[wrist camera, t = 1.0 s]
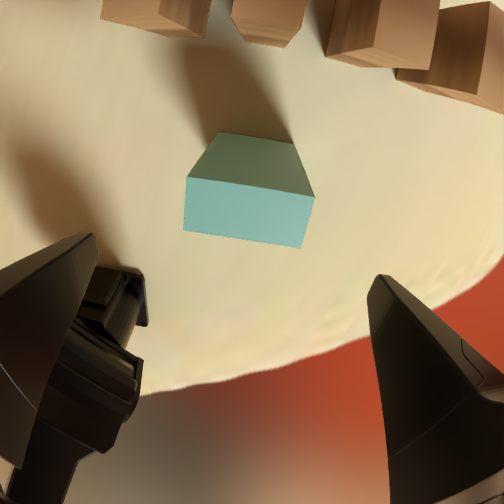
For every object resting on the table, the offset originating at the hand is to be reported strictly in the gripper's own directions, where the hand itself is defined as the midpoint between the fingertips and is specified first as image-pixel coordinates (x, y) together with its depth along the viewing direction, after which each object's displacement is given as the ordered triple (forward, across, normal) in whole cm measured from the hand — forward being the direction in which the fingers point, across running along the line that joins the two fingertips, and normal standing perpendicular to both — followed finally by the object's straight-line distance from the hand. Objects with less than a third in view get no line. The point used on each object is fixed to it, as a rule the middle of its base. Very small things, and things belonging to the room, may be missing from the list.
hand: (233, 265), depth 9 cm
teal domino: (+13, 0, 0) cm, 13 cm away
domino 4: (+13, -10, -10) cm, 19 cm away
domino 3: (+13, -5, -10) cm, 17 cm away
